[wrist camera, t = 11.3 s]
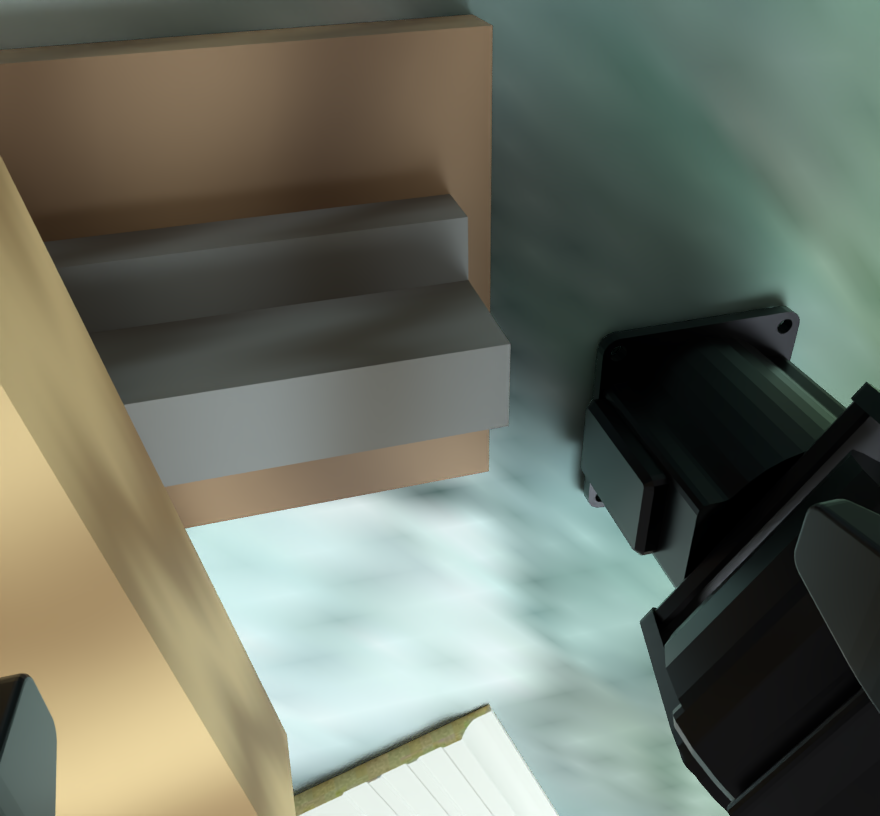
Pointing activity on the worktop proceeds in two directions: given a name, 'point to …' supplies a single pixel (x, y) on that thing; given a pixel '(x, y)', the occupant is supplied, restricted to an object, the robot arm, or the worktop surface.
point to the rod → (112, 581)
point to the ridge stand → (276, 249)
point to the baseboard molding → (437, 777)
